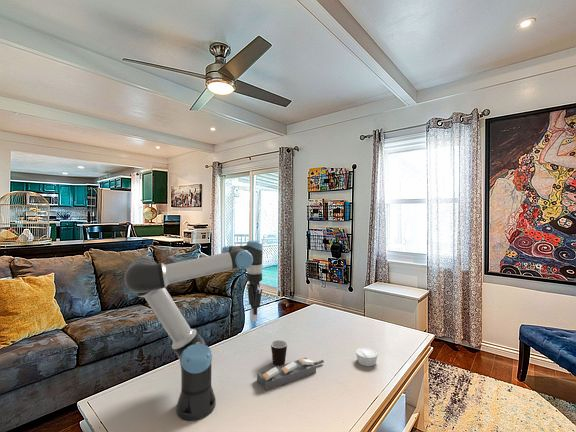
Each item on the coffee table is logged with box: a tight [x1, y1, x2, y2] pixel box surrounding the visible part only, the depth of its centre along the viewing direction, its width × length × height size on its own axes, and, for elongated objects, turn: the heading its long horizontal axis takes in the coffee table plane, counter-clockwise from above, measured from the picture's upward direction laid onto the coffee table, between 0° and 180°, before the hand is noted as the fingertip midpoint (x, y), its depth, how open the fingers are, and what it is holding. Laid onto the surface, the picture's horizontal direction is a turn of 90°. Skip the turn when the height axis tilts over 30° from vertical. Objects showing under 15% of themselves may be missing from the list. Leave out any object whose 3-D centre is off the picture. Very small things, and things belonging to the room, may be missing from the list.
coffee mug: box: [270, 339, 288, 367], centre depth 152 cm, size 12×9×10 cm
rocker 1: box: [263, 366, 279, 380], centre depth 131 cm, size 7×3×1 cm, turn 121°
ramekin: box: [355, 347, 379, 367], centre depth 152 cm, size 11×11×5 cm
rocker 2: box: [281, 360, 297, 374], centre depth 136 cm, size 7×3×1 cm, turn 121°
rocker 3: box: [298, 358, 315, 365], centre depth 142 cm, size 7×3×1 cm, turn 122°
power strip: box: [256, 357, 325, 392], centre depth 140 cm, size 36×9×4 cm, turn 121°
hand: (254, 320), depth 140 cm, fingers closed
